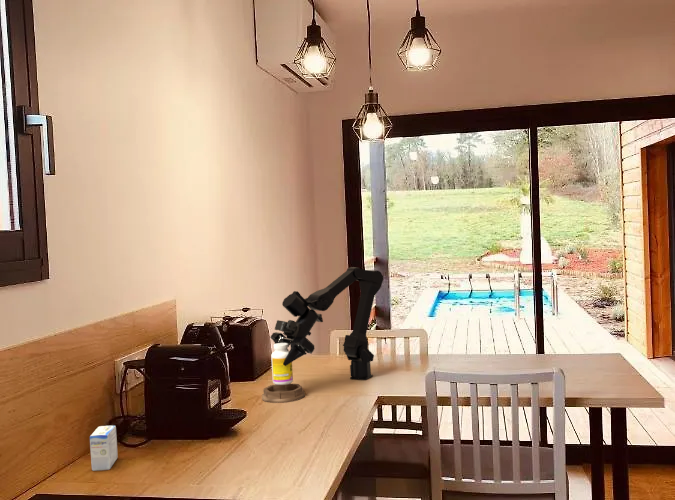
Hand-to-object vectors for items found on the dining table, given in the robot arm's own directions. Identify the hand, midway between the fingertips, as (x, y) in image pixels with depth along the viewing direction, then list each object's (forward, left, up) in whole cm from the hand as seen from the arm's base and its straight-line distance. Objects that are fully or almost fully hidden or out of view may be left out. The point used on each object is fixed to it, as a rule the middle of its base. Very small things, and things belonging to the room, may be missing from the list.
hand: (278, 363), depth 220 cm
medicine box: (+11, +66, -11) cm, 68 cm away
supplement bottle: (-1, -1, -7) cm, 7 cm away
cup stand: (-1, -1, -11) cm, 11 cm away
